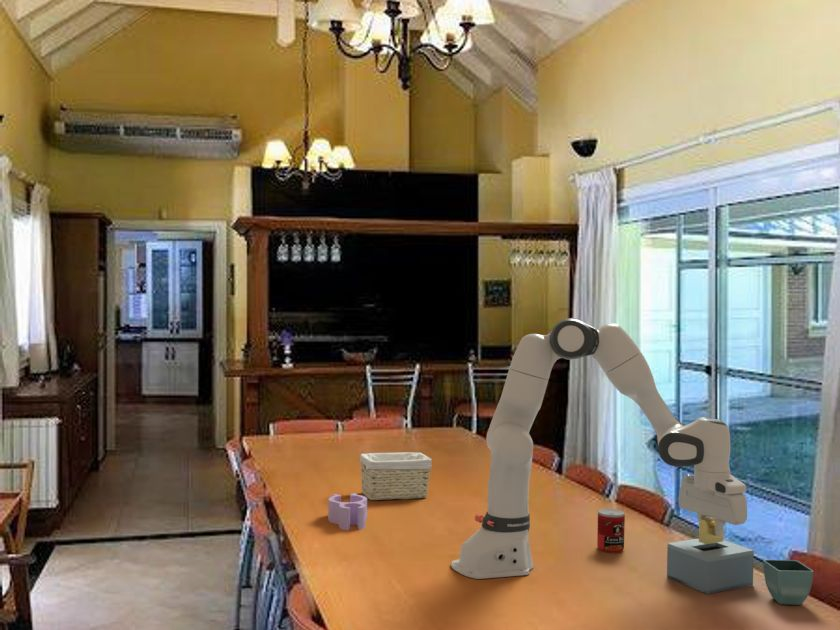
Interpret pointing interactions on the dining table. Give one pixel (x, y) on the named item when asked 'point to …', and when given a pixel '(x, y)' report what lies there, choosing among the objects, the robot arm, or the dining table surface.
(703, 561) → the tissue box
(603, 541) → the canned food
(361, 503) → the clip
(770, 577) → the flower pot
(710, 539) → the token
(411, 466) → the storage basket
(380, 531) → the dining table surface
